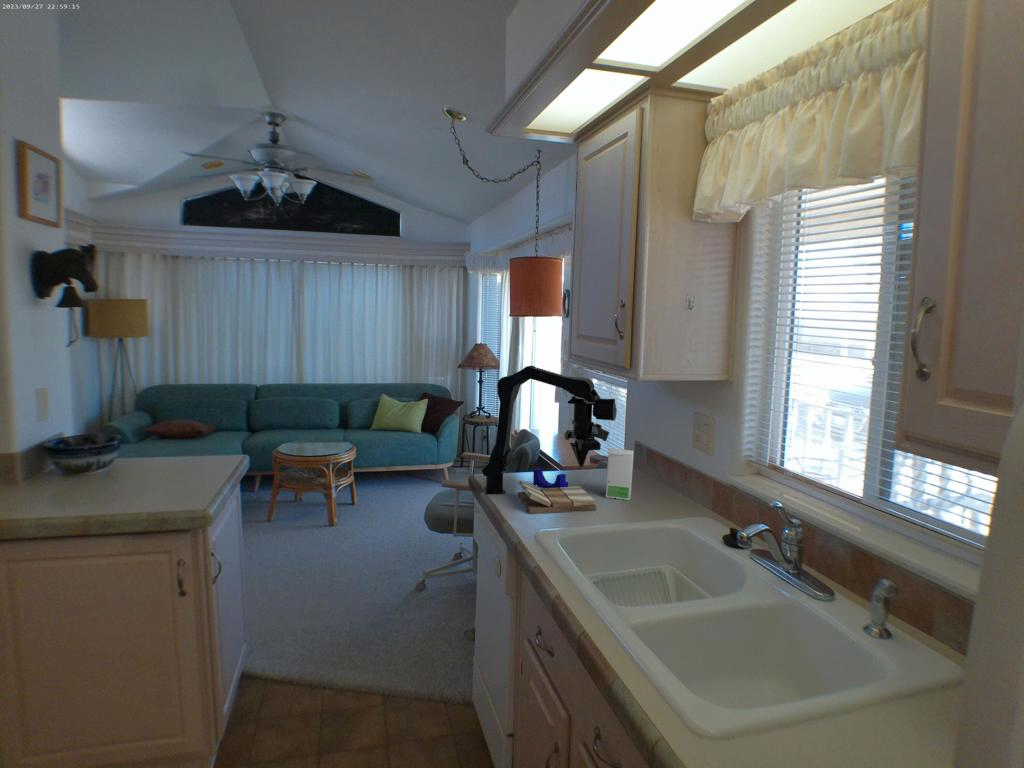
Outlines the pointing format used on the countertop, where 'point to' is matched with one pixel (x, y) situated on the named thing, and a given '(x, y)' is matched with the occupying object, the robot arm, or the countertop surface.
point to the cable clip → (543, 483)
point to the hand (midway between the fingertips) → (581, 466)
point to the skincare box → (619, 474)
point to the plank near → (534, 493)
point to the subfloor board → (540, 508)
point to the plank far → (577, 496)
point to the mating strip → (556, 497)
